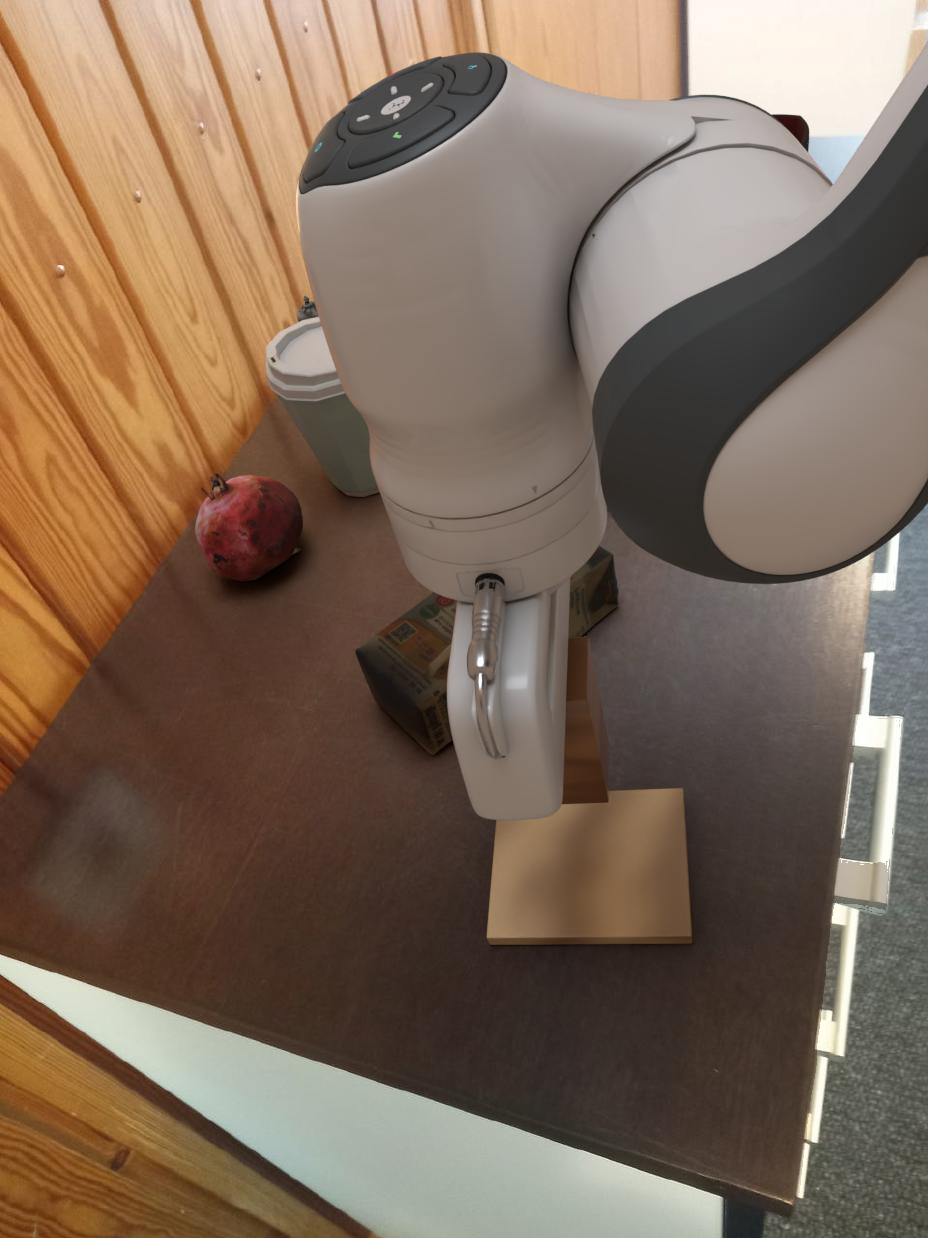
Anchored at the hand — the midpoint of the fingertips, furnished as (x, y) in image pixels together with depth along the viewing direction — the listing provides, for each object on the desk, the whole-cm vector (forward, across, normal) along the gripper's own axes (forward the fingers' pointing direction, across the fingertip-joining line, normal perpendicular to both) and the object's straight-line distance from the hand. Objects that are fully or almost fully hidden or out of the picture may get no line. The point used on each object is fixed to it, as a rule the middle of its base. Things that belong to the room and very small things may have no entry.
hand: (547, 704), depth 52 cm
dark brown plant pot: (+17, +73, -17) cm, 77 cm away
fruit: (+17, +31, +29) cm, 46 cm away
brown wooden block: (+6, 0, 0) cm, 6 cm away
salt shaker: (+17, +54, +26) cm, 62 cm away
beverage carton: (+17, +18, +7) cm, 26 cm away
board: (+17, 0, 0) cm, 17 cm away
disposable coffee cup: (+17, +41, +21) cm, 49 cm away
